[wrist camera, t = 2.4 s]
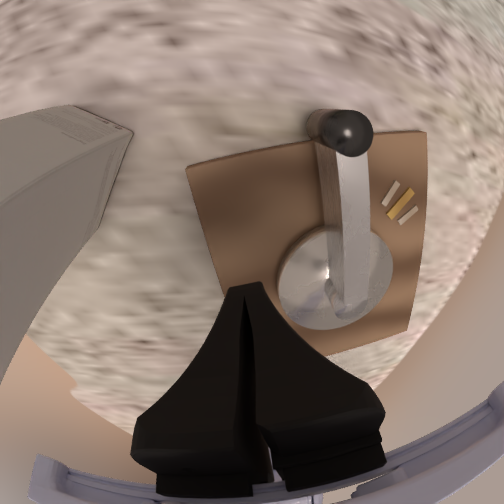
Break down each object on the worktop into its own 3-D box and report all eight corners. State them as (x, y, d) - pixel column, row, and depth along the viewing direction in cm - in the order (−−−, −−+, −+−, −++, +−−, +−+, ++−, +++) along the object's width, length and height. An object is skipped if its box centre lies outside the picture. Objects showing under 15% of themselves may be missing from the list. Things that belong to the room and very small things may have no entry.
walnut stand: (402, 324, 26) (407, 331, 25) (250, 364, 27) (251, 373, 26) (418, 130, 16) (428, 132, 15) (187, 166, 17) (184, 170, 16)
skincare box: (72, 103, 14) (-119, 155, 1) (140, 133, 15) (-56, 233, 3) (42, 205, 17) (-84, 329, 4) (100, 237, 19) (-5, 403, 6)
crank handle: (381, 304, 22) (404, 341, 18) (284, 330, 23) (295, 374, 19) (381, 104, 14) (425, 108, 10) (242, 120, 15) (247, 124, 10)
